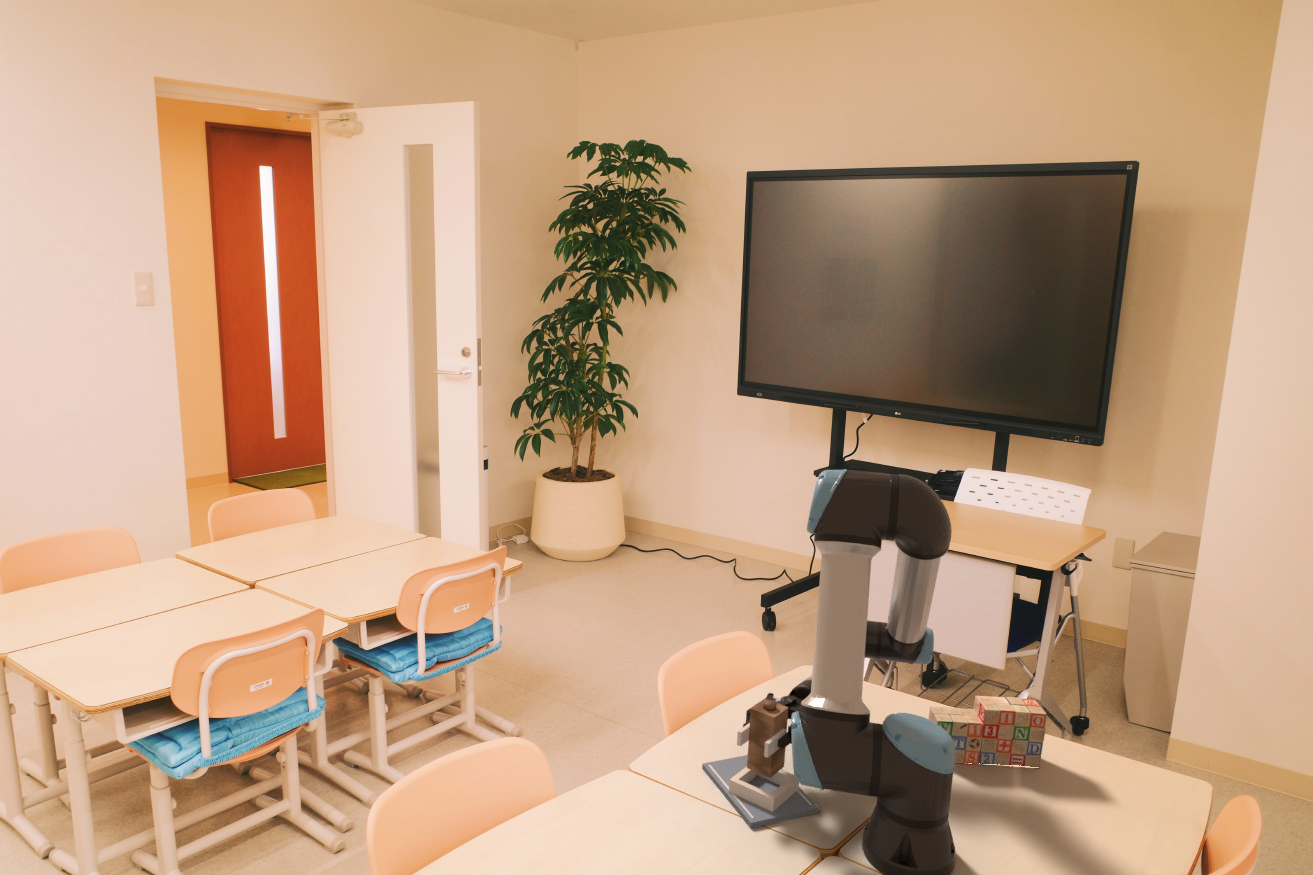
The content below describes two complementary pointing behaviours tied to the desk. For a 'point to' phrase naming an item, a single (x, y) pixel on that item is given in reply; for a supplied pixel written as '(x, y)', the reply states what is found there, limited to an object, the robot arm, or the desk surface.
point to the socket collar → (761, 797)
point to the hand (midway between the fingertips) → (752, 744)
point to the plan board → (747, 810)
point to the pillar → (766, 736)
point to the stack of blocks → (995, 730)
